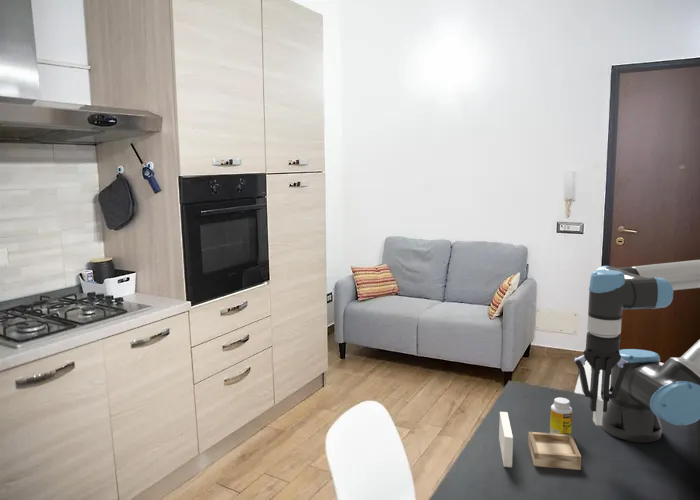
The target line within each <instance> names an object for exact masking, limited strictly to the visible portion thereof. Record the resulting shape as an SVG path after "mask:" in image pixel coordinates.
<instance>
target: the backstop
mask: <svg viewBox="0 0 700 500" xmlns="http://www.w3.org/2000/svg"><path fill="white" fill-rule="evenodd" d="M512 432H513V431H512V427H511V421H510V417H509V413H508V411H499V429H498V441H499V446H500V452H501V458H502V464H503V467H504V468H505V467H506V468H513V451H514V450H513V448H514V447H513V446H514V435H513V433H512Z"/></svg>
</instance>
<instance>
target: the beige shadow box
mask: <svg viewBox="0 0 700 500" xmlns="http://www.w3.org/2000/svg"><path fill="white" fill-rule="evenodd" d="M527 438H528V439H527V445H528V448H529V452H530V456H531V459H532V463H533V466H534V467H542V468H552V469H553V468H554V469H555V468H556V469H567V470H580V471H581V470H582V469H581V468H582V455H581V453H580V451H579V449H578V446H577V444H576V441H575V440H574V437H573V435H572V434H571V435H567V434H553V433H550V432H549V433H548V432H538V431H537V432H536V431H528V437H527Z"/></svg>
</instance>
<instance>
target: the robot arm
mask: <svg viewBox="0 0 700 500" xmlns="http://www.w3.org/2000/svg"><path fill="white" fill-rule="evenodd" d="M589 280H590V281H589V287H588V290H589V291H588V292H589V293H588V309H587V311H588V312H587V314H588V315H587V322H586V323H587V326H586V330H587V332H586V340H585V349H584V350H583V353H582V355H580V356H574V357H573V361H574V363H575V364H576V366H577V371H578V375H579V381H580V385H581V391H582V393H583V394H584V396H585V397H586V398H589V409H590V411H591V412H592V421H593V423H594V425H595V426H600V427H602V429H603V431H605V432H606V433H608V434H610V435H611V436H613V437H615V438H618V439H621V440H623V441H628V442H633V443H642V444H645V443H646V444H647V443H654V442H657V441H658V440H660V439H661V438H662V430H663V428H662V424H661V420H664V421H665V422H667V423H669V424H671V425H673V426H688V425H691V424H695V423H696V422H698V421H699V420H700V338H699V339H698V340H697V341H696V342H695V343H694V344H693V345H692V346H691V347H690V348H689V349H688V350H687V351H685V352H684V353H683V354H682V355H681V356H680V357H673V356H672V357H668V359H667V360H666V361H665V362H664V363H663V364H662V365H661V364H660V362H661V356H660V355H659V353H657V352H655V351H652V350H646V349H639V348H638V349H637V348H636V349H635V348H625V349H624V348H623V349H620V348H621V347H620V346H621V336H620V335H621V332H622V319H623V310H642V309H643V310H646V309H648V310H651V309H652V310H656V309H661V308H662V309H663V308H667V307H668V306H670V305H671V303H672V302H673V299H674V291H678V290H688V289H689V290H690V289H700V259H693V260H684V261H675V262H673V261H672V262H664V263H653V264H645V265H633V266H624V267H615V266H611V265H610V266H609V265H602V266H600V267H598V268H596V270H594V271H593V272H591V275H590V279H589ZM586 362H587V363H588V365H589V366H590V372H591V373H590V385H589V383H588V379H587V373H586V369H585V367H584V366H585V365H586ZM601 371H602V372H601ZM600 374H602V375H601V384H600V385H601V386H600V387H601V389H600V396H598V395H599V382H600V381H599V379H600ZM589 387H590V389H589ZM660 419H661V420H660Z"/></svg>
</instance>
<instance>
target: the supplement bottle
mask: <svg viewBox="0 0 700 500" xmlns="http://www.w3.org/2000/svg"><path fill="white" fill-rule="evenodd" d="M570 405H571V404H570V400H569V399H568V398H565V397H555V398H554V400H553V403H552V405H551V406H550V418H549V419H550V420H549V421H550V422H549V433H553V434H567V435H572V423H573V422H572V421H573V420H572V419H573V408H572V407H571V406H570Z"/></svg>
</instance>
